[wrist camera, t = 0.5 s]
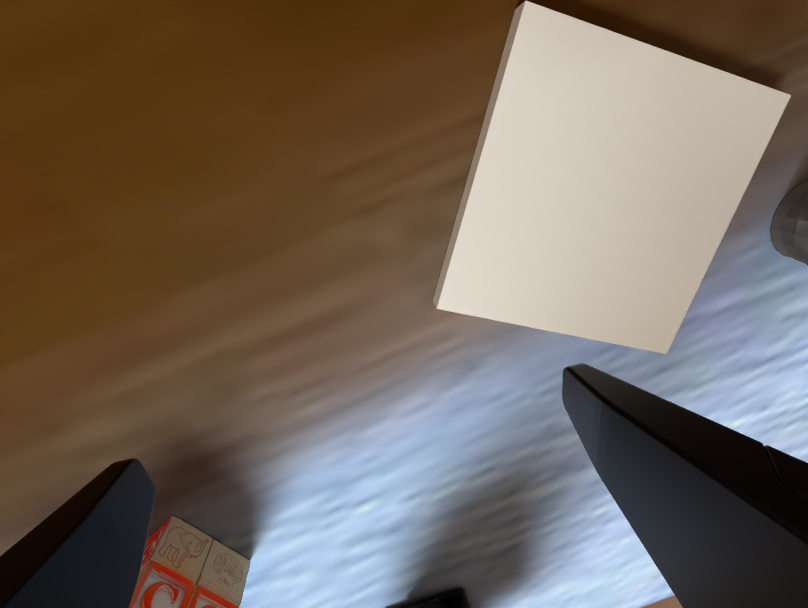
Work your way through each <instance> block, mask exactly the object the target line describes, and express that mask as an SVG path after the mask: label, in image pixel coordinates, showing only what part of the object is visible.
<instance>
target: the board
mask: <svg viewBox="0 0 808 608" xmlns="http://www.w3.org/2000/svg"><path fill="white" fill-rule="evenodd" d="M790 97H791V95H789V94H786V93H783V92H781V91H778V90H775V89H772V88H769V87H767V86H764V85H761V84H758V83H755V82H753V81H750V80H747V79H744V78H741V77H739V76H736V75H733V74H730V73H727V72H725V71H722V70H719V69H716V68H713V67H711V66H708V65H705V64H702V63H699V62H697V61H694V60H691V59H688V58H685V57H683V56H680V55H677V54H674V53H671V52H669V51H666V50H663V49H660V48H657V47H655V46H652V45H649V44H646V43H643V42H641V41H638V40H635V39H632V38H629V37H627V36H624V35H621V34H618V33H615V32H613V31H610V30H607V29H604V28H601V27H599V26H596V25H593V24H590V23H587V22H585V21H582V20H579V19H576V18H573V17H571V16H568V15H565V14H562V13H559V12H557V11H554V10H551V9H548V8H545V7H543V6H540V5H537V4H534V3H531V2H529V1H524V2H523V3H522V4H521V5H520V6H519V7H517V8H516V9H515V12H514V16H513V19H512V23H511V26H510V30H509V33H508V37H507V40H506V44H505V47H504V51H503V54H502V58H501V61H500V65H499V68H498V72H497V76H496V79H495V83H494V86H493V90H492V93H491V97H490V100H489V104H488V107H487V111H486V114H485V118H484V121H483V125H482V128H481V132H480V135H479V139H478V143H477V146H476V150H475V153H474V157H473V160H472V164H471V167H470V171H469V174H468V178H467V181H466V185H465V188H464V192H463V195H462V199H461V202H460V206H459V210H458V213H457V217H456V220H455V224H454V227H453V231H452V234H451V238H450V241H449V245H448V248H447V252H446V255H445V259H444V262H443V266H442V270H441V273H440V277H439V280H438V284H437V287H436V291H435V294H434V298H433V303H434V304H435V306H436V308H437V309H441V310H446V311H451V312H456V313H461V314H466V315H471V316H477V317H482V318H487V319H492V320H497V321H502V322H507V323H512V324H517V325H522V326H527V327H532V328H537V329H542V330H547V331H552V332H557V333H562V334H567V335H572V336H577V337H582V338H587V339H592V340H597V341H602V342H607V343H612V344H617V345H622V346H627V347H632V348H637V349H643V350H648V351H653V352H658V353H663V354H667V352H668V350H669V348H670V346H671V344H672V342H673V340H674V338H675V336H676V334H677V332H678V330H679V327H680V325H681V323H682V321H683V319H684V317H685V315H686V313H687V311H688V309H689V307H690V305H691V303H692V300H693V298H694V296H695V294H696V292H697V290H698V288H699V286H700V284H701V282H702V280H703V278H704V276H705V273H706V271H707V269H708V267H709V265H710V263H711V261H712V259H713V257H714V255H715V253H716V251H717V249H718V246H719V244H720V242H721V240H722V238H723V236H724V234H725V232H726V230H727V228H728V226H729V224H730V222H731V219H732V217H733V215H734V213H735V211H736V209H737V207H738V205H739V203H740V201H741V199H742V197H743V195H744V192H745V190H746V188H747V186H748V184H749V182H750V180H751V178H752V176H753V174H754V172H755V170H756V168H757V165H758V163H759V161H760V159H761V157H762V155H763V153H764V151H765V149H766V147H767V145H768V143H769V141H770V138H771V136H772V134H773V132H774V130H775V128H776V126H777V124H778V122H779V120H780V118H781V116H782V114H783V111H784V109H785V107H786V105H787V103H788V101H789V99H790Z"/></svg>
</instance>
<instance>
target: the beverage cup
mask: <svg viewBox="0 0 808 608" xmlns="http://www.w3.org/2000/svg"><path fill="white" fill-rule="evenodd" d="M771 240H772V243H773V245H774V247H775V249H776V250H777V251H778V252H780V253H781V254H782V255H783V256H787V257H791V258H794V259H795V260H798V261H801V262H803V263H805V264H807V265H808V181H806V182H804V183H801V184H800V185H798V186H797V187H796V188H794V189H793V190H792V191H790V192H789V193H788V194H787V196H786V197H785V198H784V199H783V200H782V202H781V203H780V204H779V206H778V208H777V210H776V212H775V214H774V216H773V220H772V225H771Z"/></svg>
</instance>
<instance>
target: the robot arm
mask: <svg viewBox="0 0 808 608" xmlns="http://www.w3.org/2000/svg"><path fill="white" fill-rule="evenodd" d="M562 398H563V403H564V406H565V409H566V411H567V413H568V415H569V417H570V419H571V421H572V423H573V425H574V427H575V429H576V431H577V433H578V435H579V437H580V439H581V441H582V443H583V445H584V447H585V449H586V451H587V453H588V455H589V457H590V460H591V461H592V463H593V465H594V467H595V469H596V471H597V473H598V474H599V476H600V478H601V479H602V481H603V482H604V484H605V486H606V487H607V489H608V490H609V492H610V493H611V495H612V497H613V498H614V500H615V501H616V503H617V504H618V506H619V508H620V509H621V511H622V512H623V514H624V516H625V517H626V519H627V520H628V522H629V523H630V525H631V527H632V528H633V530H634V531H635V533H636V534H637V536H638V538H639V539H640V541H641V542H642V544H643V545H644V547H645V549H646V550H647V552H648V553H649V555H650V556H651V558H652V560H653V561H654V563H655V564H656V566H657V567H658V569H659V571H660V572H661V574H662V575H663V577H664V578H665V580H666V582H667V583H668V585H669V586H670V588H671V590H672V591H673V593H674V594H675V596H676V597H677V599H678V600H679V602H680V604H681V605H682V607H683V608H808V463H807V462H804V461H802V460H800V459H797V458H795V457H793V456H790V455H788V454H786V453H784V452H781V451H779V450H777V449H775V448H772V447H770V446H768V445H766V446H764V445H763V444H762V443H761V442H759V441H756V440H754V439H752V438H750V437H748V436H745V435H743V434H741V433H739V432H736V431H734V430H732V429H730V428H727V427H725V426H723V425H721V424H718V423H716V422H714V421H712V420H710V419H707V418H705V417H703V416H701V415H698V414H696V413H694V412H692V411H689V410H687V409H685V408H683V407H680V406H678V405H676V404H674V403H672V402H669V401H667V400H665V399H663V398H660V397H658V396H656V395H654V394H651V393H649V392H647V391H645V390H642V389H640V388H638V387H636V386H634V385H631V384H629V383H627V382H625V381H622V380H620V379H618V378H616V377H613V376H611V375H609V374H607V373H604V372H602V371H600V370H598V369H596V368H593V367H591V366H589V365H586V364H583V363H581V364H576V365H571V366H567V367H565V368H564V370H563V389H562ZM155 498H156V489H155V485H154V483H153V481H152V480H151V478H150V477H149V475H148V473H147V472H146V470H145V469H144V467H143V465H142V464H141V462H140V461H139V460H137V459H127V460H123V461H118V462H115V463H113V464H111V465H110V466H109V467H108V468H106V469H105V470H104V471H103V472H102V473H100V474H99V475H98V476H97V477H96V478H94V479H93V480H92V481H91V482H90V483H88V484H87V485H86V486H85V487H83V488H82V489H81V490H80V491H79V492H77V493H76V494H75V495H74V496H73V497H71V498H70V499H69V500H68V501H67V502H65V503H64V504H63V505H62V506H61V507H59V508H58V509H57V510H56V511H55V512H53V513H52V514H51V515H50V516H49V517H47V518H46V519H45V520H44V521H42V522H41V523H40V524H39V525H38V526H36V527H35V528H34V529H33V530H32V531H30V532H29V533H28V534H27V535H26V536H24V537H23V538H22V539H21V540H20V541H18V542H17V543H16V544H15V545H14V546H12V547H11V548H10V549H9V550H8V551H6V552H5V553H4V554H3V555H2V556H0V608H129V606H130V603H131V600H132V597H133V594H134V590H135V587H136V584H137V580H138V577H139V573H140V569H141V565H142V561H143V556H144V551H145V546H146V542H147V537H148V532H149V527H150V522H151V518H152V513H153V508H154V503H155ZM403 608H472V607H471V604H470V602H469V599H468V597H467V594H466V591H465V590H464V589H462V588H458V589H455V590H452V591H449V592H446V593H443V594H440V595H437V596H434V597H432V598H429V599H426V600H423V601H420V602H417V603H414V604H411V605H408V606H406V607H403Z"/></svg>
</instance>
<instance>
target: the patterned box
mask: <svg viewBox="0 0 808 608" xmlns="http://www.w3.org/2000/svg"><path fill="white" fill-rule="evenodd" d="M249 566H250V561H249V560H248V559H246V558H245V557H243V556H241V555H240V554H238V553H236V552H235V551H233V550H231V549H230V548H228V547H226V546H224V545H223V544H221V543H219V542H218V541H216V540H213V539H212V538H211V537H210V536H208V535H207V534H205V533H203V532H201V531H200V530H198V529H196V528H194V527H193V526H191V525H189V524H188V523H186V522H184V521H182V520H181V519H179V518H177V517H174V516H171V517H170V518H169V519H168V520H167V521H166V522H165V523H164V524H163V525H161V526H160V527H159V528H158V529H157V530H156V531H155V532H154V533H153V534H152V535H151V536H150V537H149V538H148V539H147V542H146V546H145V551H144V556H143V561H142V565H141V569H140V573H139V577H138V580H137V584H136V587H135V590H134V594H133V597H132V600H131V603H130V606H129V608H239V606H240V603H241V600H242V596H243V591H244V587H245V583H246V578H247V574H248V570H249Z"/></svg>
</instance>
